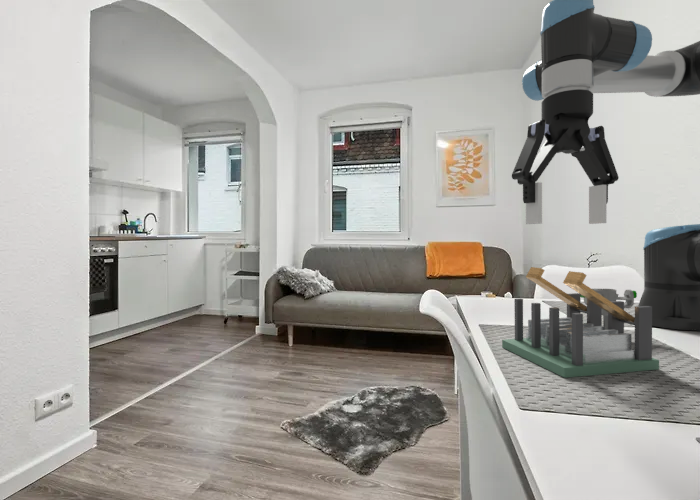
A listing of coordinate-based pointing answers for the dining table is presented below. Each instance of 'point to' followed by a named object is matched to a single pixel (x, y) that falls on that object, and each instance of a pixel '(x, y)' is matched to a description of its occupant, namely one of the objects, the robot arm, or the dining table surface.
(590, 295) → the strap
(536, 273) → the strap
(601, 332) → the heatsink
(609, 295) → the mechanical component
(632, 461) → the dining table surface
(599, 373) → the socket board
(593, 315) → the set of grey pegs
